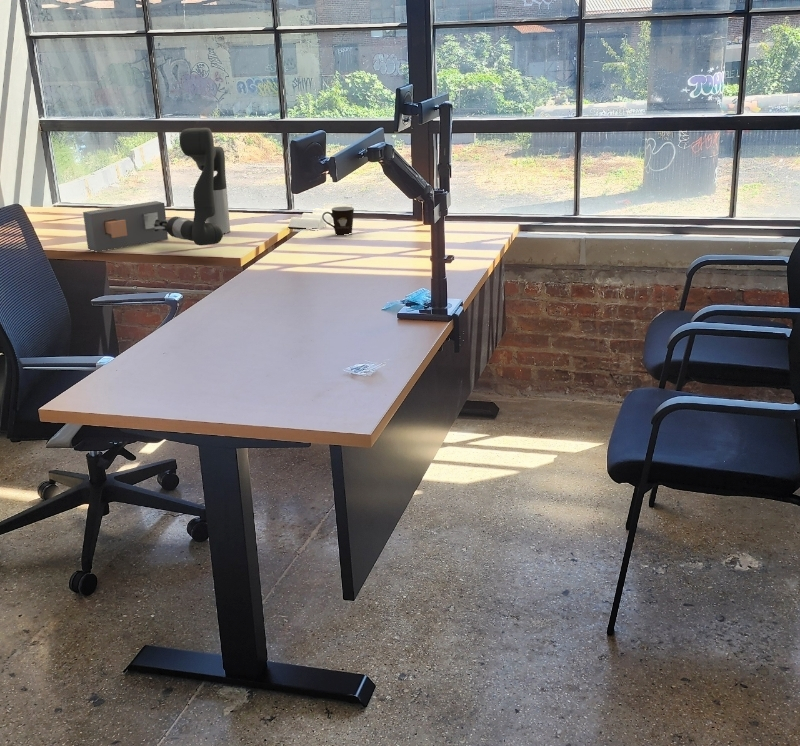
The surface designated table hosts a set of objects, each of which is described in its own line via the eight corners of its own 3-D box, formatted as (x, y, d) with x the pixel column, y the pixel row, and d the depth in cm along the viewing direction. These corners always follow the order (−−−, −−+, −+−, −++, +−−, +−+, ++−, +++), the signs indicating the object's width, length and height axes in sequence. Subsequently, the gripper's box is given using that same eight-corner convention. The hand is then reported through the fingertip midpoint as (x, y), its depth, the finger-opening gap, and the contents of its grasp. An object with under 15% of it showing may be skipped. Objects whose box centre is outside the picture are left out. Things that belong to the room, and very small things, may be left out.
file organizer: (287, 230, 370) (286, 217, 368) (325, 214, 400) (324, 202, 398) (316, 232, 365) (315, 219, 363) (352, 216, 395) (352, 204, 394)
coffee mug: (358, 232, 360) (357, 207, 356) (348, 237, 353) (347, 211, 349) (332, 230, 364) (331, 205, 361) (321, 234, 357) (320, 209, 354)
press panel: (88, 249, 339) (83, 212, 334) (160, 236, 358) (156, 201, 353) (95, 252, 335) (90, 214, 330) (168, 239, 354) (164, 202, 349)
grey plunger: (132, 225, 352) (130, 211, 350) (145, 223, 355) (143, 209, 353) (145, 229, 345) (144, 214, 343) (158, 226, 349) (157, 212, 347)
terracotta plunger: (100, 234, 338) (98, 218, 336) (113, 231, 342) (112, 216, 340) (113, 237, 331) (111, 222, 329) (127, 235, 335) (125, 220, 333)
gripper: (196, 215, 334) (171, 209, 346) (164, 220, 326) (140, 214, 337) (198, 235, 337) (173, 229, 349) (166, 241, 328) (142, 234, 340)
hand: (157, 222), depth 343 cm, fingers closed
